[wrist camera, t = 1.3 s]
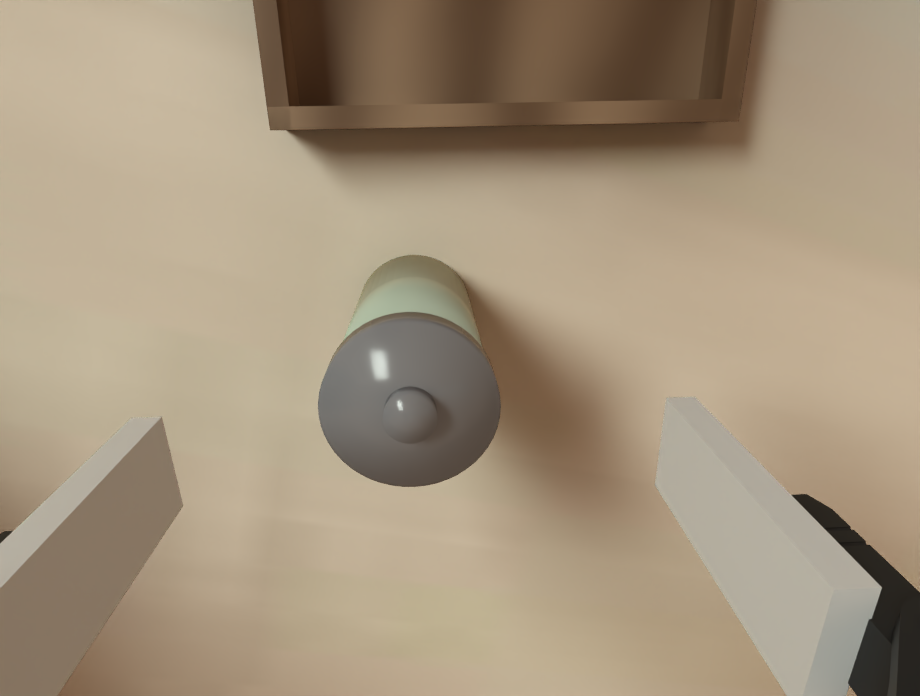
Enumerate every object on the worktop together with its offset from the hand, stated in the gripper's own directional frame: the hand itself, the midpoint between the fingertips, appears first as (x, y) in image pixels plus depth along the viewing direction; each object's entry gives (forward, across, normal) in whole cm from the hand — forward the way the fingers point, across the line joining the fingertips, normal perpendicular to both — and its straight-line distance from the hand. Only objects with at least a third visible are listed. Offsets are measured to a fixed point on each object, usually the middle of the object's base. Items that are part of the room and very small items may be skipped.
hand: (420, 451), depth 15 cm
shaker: (+12, 0, 0) cm, 13 cm away
